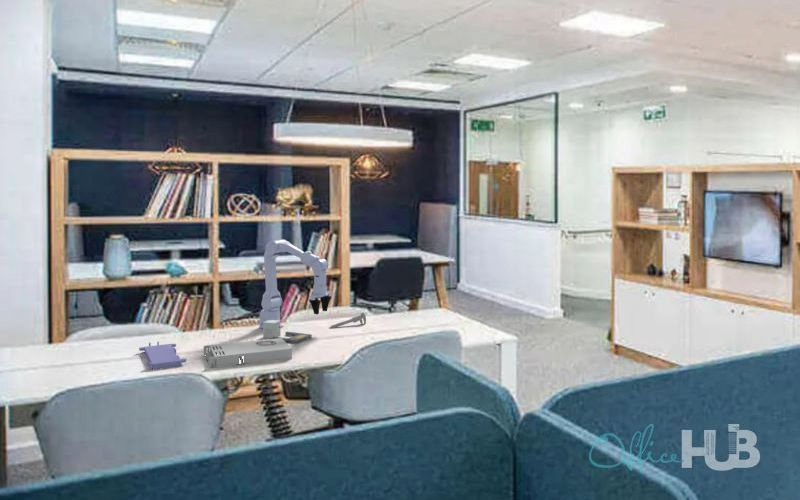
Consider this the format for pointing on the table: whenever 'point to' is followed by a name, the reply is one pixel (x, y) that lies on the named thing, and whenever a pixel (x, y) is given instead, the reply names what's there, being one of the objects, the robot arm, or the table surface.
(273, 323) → the skincare box
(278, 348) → the power supply unit
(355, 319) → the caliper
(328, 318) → the table surface
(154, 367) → the computer part
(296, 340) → the u bracket
